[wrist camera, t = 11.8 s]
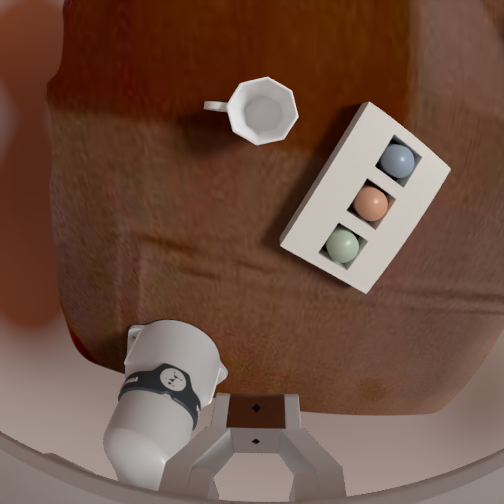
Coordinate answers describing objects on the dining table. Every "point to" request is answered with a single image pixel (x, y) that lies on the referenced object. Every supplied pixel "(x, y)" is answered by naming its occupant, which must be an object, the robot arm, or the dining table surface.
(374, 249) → the button panel
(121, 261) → the dining table surface
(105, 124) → the dining table surface
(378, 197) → the terracotta button
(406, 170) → the slate button
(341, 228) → the sage button
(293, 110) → the cup
